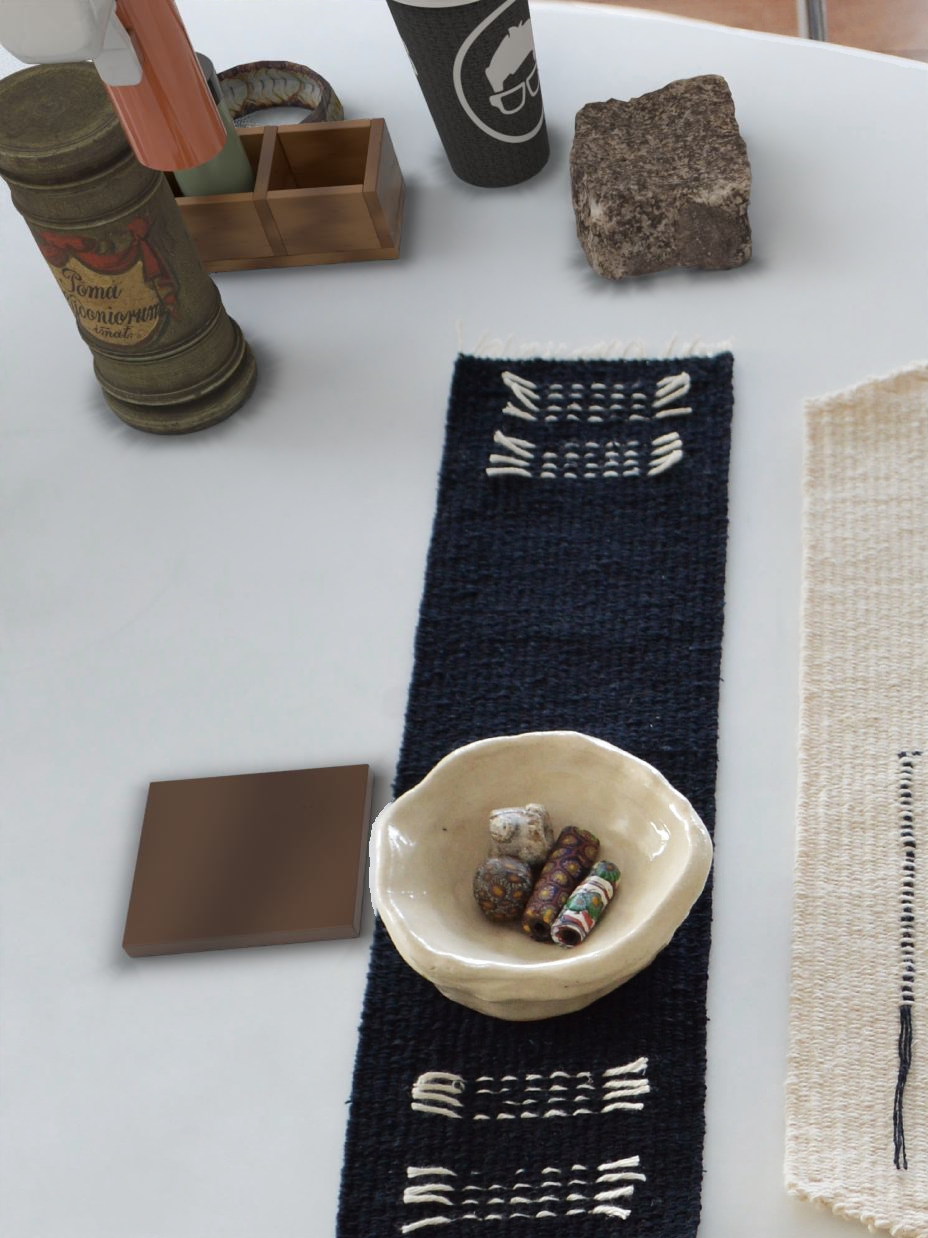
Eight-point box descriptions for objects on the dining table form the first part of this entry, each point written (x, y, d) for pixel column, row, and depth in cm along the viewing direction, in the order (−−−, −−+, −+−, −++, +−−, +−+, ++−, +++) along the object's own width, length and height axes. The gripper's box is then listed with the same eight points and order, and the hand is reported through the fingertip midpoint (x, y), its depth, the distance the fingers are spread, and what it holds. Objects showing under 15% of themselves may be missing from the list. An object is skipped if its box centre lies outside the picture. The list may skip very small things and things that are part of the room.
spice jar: (125, 176, 90) (31, -29, 81) (137, 117, 92) (48, -88, 83) (224, 169, 90) (141, -37, 81) (234, 110, 92) (154, -95, 84)
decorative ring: (361, 174, 121) (341, 87, 126) (345, 128, 118) (325, 41, 123) (203, 206, 120) (189, 116, 124) (183, 160, 117) (170, 70, 122)
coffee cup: (557, 100, 125) (504, -131, 112) (586, 184, 120) (534, -47, 107) (416, 129, 123) (345, -102, 111) (440, 216, 119) (369, -15, 106)
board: (129, 957, 90) (120, 946, 89) (157, 793, 95) (149, 781, 94) (359, 937, 90) (352, 926, 89) (374, 775, 95) (368, 763, 94)
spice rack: (172, 275, 116) (141, 208, 112) (187, 201, 120) (157, 133, 116) (398, 258, 117) (375, 191, 112) (406, 185, 120) (384, 117, 116)
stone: (756, 182, 111) (764, 270, 116) (726, 61, 118) (734, 148, 123) (570, 201, 110) (585, 289, 115) (550, 77, 117) (566, 165, 122)
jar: (192, 249, 116) (126, 100, 108) (201, 201, 118) (137, 52, 110) (268, 243, 116) (208, 94, 108) (275, 196, 119) (217, 47, 110)
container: (130, 333, 113) (-10, 52, 98) (276, 335, 113) (158, 54, 98) (88, 436, 109) (-66, 158, 93) (240, 438, 108) (111, 160, 93)
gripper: (-39, -406, 80) (97, -79, 91) (-137, -153, 69) (31, 179, 81) (110, -415, 80) (227, -88, 92) (36, -164, 69) (178, 169, 81)
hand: (135, 40), depth 86 cm, fingers closed on spice jar, 4 cm apart
